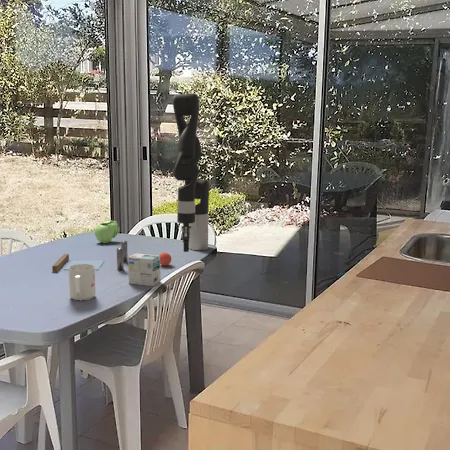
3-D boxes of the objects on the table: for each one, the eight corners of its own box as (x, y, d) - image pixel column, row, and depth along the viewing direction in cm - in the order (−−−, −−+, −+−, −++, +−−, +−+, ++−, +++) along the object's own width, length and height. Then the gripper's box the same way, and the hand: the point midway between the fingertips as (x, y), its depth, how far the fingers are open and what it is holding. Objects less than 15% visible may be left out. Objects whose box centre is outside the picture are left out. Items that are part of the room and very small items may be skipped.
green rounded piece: (108, 246, 278) (107, 224, 275) (91, 243, 283) (91, 221, 281) (125, 241, 288) (124, 220, 285) (108, 239, 293) (108, 218, 291)
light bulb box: (161, 282, 221) (160, 255, 219) (153, 287, 215) (153, 259, 213) (136, 279, 225) (135, 252, 222) (128, 283, 218) (127, 256, 216)
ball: (171, 263, 247) (171, 251, 246) (171, 267, 242) (170, 254, 241) (158, 263, 247) (158, 251, 246) (157, 267, 242) (157, 254, 240)
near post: (124, 268, 239) (123, 247, 237) (123, 270, 236) (122, 249, 235) (117, 268, 239) (117, 247, 237) (116, 270, 236) (116, 249, 234)
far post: (128, 260, 251) (127, 240, 250) (127, 262, 249) (126, 242, 247) (122, 260, 251) (121, 240, 249) (121, 262, 249) (120, 242, 247)
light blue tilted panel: (104, 261, 250) (104, 260, 250) (98, 269, 237) (98, 269, 237) (71, 261, 250) (71, 260, 250) (64, 269, 236) (64, 269, 236)
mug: (73, 293, 206) (71, 263, 204) (97, 293, 206) (96, 263, 204) (64, 304, 194) (63, 273, 192) (91, 304, 195) (89, 273, 192)
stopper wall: (68, 259, 253) (68, 253, 252) (57, 271, 233) (57, 266, 233) (64, 259, 253) (64, 253, 252) (52, 271, 233) (52, 266, 233)
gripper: (194, 213, 234) (194, 255, 237) (195, 208, 247) (195, 248, 250) (176, 213, 233) (176, 254, 237) (178, 208, 246) (178, 247, 250)
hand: (186, 251), depth 243 cm, fingers closed
